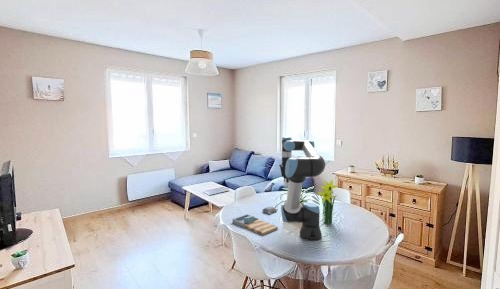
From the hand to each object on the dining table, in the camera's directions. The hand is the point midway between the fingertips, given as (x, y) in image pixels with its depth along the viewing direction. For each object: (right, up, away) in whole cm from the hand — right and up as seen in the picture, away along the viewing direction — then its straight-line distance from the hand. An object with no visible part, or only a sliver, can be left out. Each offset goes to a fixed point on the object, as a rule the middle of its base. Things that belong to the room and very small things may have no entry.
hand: (286, 186), depth 210 cm
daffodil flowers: (+32, -30, -2) cm, 44 cm away
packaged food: (-12, -29, +21) cm, 38 cm away
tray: (-32, -29, +3) cm, 44 cm away
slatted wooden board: (-21, -30, -9) cm, 38 cm away
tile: (-29, -28, 0) cm, 41 cm away
